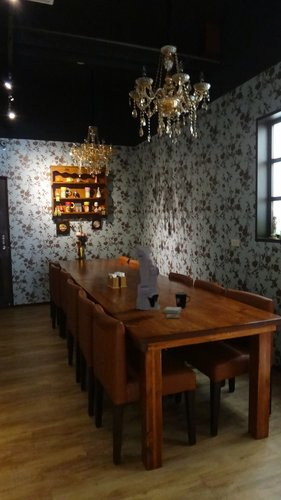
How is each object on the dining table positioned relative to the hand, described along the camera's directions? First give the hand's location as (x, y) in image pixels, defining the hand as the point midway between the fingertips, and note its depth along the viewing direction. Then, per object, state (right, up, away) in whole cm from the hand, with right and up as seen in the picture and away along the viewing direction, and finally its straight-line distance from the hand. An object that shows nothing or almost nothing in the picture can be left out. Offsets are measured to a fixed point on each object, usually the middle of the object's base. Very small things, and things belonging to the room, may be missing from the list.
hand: (153, 306), depth 216 cm
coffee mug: (+21, -4, +20) cm, 29 cm away
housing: (0, -2, 0) cm, 2 cm away
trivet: (+12, -6, -5) cm, 14 cm away
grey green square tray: (+13, -5, +9) cm, 17 cm away
